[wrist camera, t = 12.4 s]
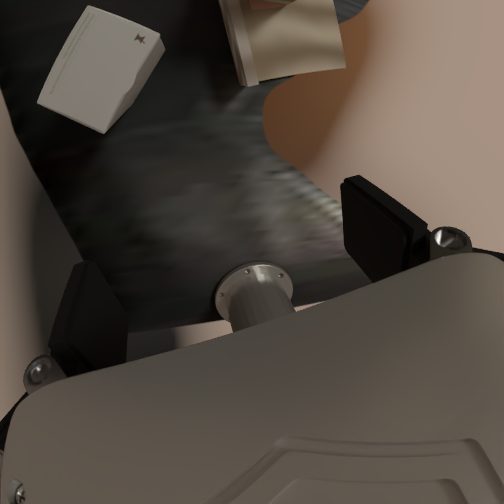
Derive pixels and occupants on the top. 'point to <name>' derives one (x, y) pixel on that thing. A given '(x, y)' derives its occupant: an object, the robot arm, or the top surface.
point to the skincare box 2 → (280, 1)
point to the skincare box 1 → (101, 69)
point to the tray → (281, 38)
